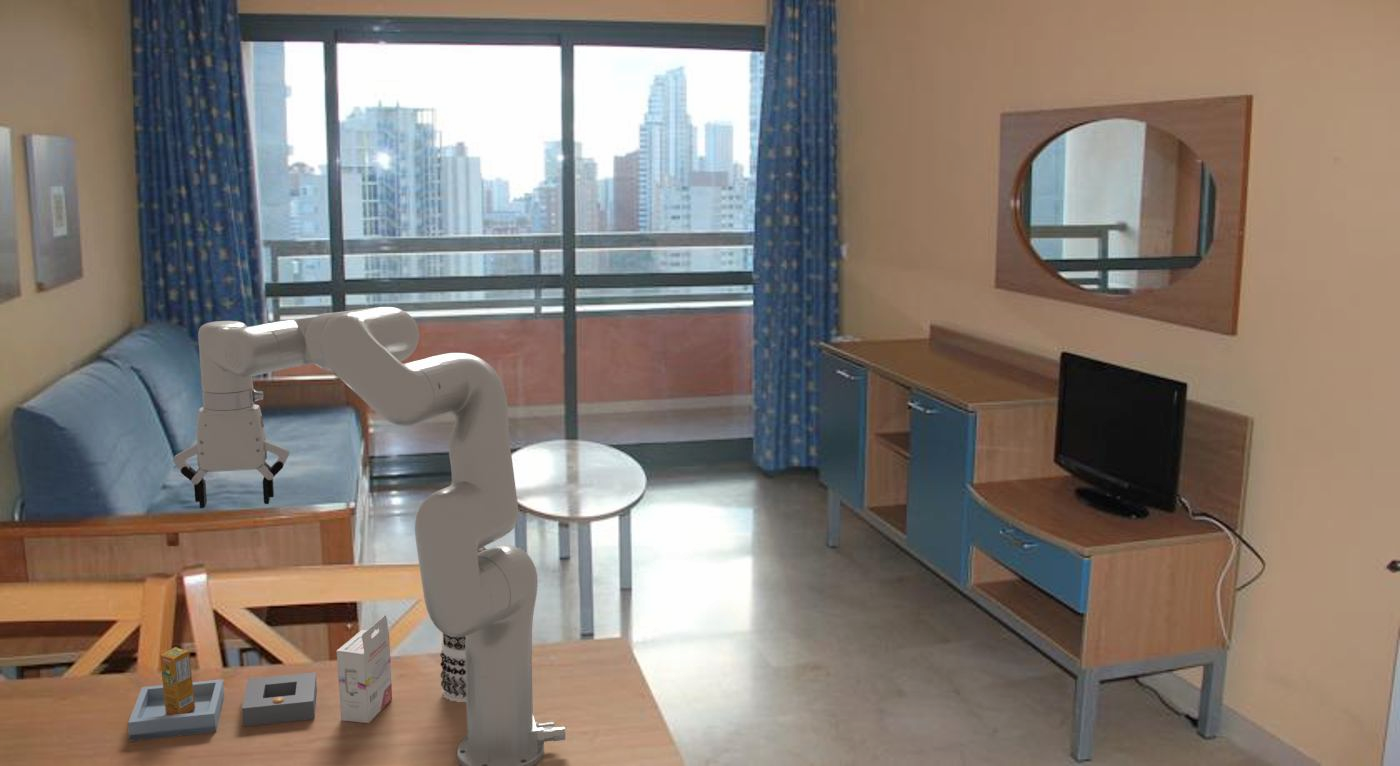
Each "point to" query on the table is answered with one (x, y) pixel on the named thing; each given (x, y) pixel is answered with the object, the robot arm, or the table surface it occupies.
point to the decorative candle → (454, 665)
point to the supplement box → (177, 681)
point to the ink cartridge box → (365, 673)
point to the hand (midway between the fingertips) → (235, 503)
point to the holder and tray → (260, 704)
